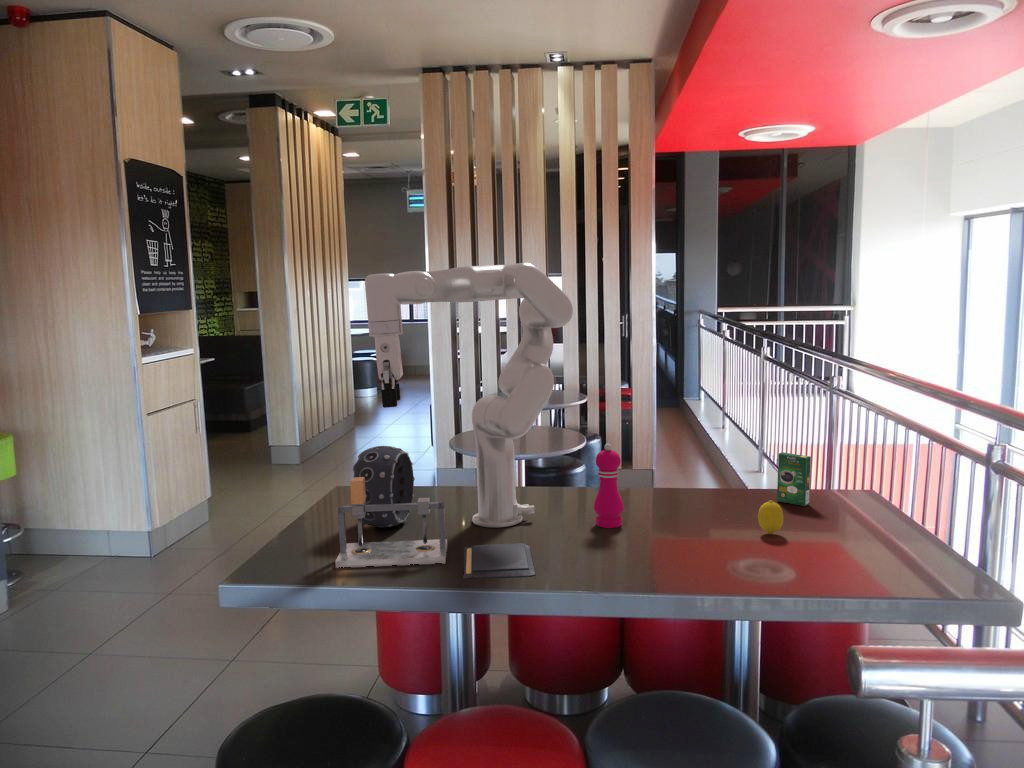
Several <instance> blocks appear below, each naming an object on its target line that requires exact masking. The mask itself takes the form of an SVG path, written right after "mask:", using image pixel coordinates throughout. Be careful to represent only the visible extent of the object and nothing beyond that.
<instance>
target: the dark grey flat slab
mask: <svg viewBox="0 0 1024 768" xmlns="http://www.w3.org/2000/svg"><path fill="white" fill-rule="evenodd" d="M464 548H465V549H464ZM464 548H463V567H464V575H463V574H462V575H463V576H462V579H463V580H469V579H468V578H472V579H471V580H479V578H482V580H483V579H509V578H510V579H511V578H530V577H531V578H532V577H536V568H535V566H534V561H533V557H532V551H531V550H532V549H531V547H530V545H528V544H525V543H524V542H521V543H520V542H518V543H497V544H496V543H495V544H493V543H492V544H477V545H476V544H475V545H474V544H473V545H471V546H469V547H468V546H467V547H466V546H465V547H464Z"/></svg>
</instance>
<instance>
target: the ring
mask: <svg viewBox="0 0 1024 768" xmlns="http://www.w3.org/2000/svg"><path fill="white" fill-rule="evenodd" d="M413 464H414V462H413V461H412V460H411V458H410V456H409V452H407V451H405V450H403V449H402V448H400V447H395V446H390V445H379V446H378V445H377V446H373V447H372V446H371V447H370V448H367V449H365V450H363V451H362V452H360V453H359V454H358V455H357V461H356V462H355V463H354V465H353V466H352V472H353V476H352V478H354V477H365V492H366V500H365V504H366V505H376V504H401V503H413V501H414V500H413V499H414V497H415V494H414V489H415V479H416V478H415V476H414V468H413ZM350 504H351V503H350ZM351 505H352V504H351ZM351 505H350V506H351ZM411 512H412V510H397V511H372V512H366V515H365V517H364V518H362V524H364V525H366V526H368V527H369V526H370V527H374V528H384V529H385V528H391V527H396V526H399V525H400V524H402V523H405V522H406V521H407V518H408V516H409V514H410V513H411Z"/></svg>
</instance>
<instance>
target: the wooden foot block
mask: <svg viewBox="0 0 1024 768" xmlns="http://www.w3.org/2000/svg"><path fill="white" fill-rule="evenodd" d="M349 483H350V484H349V487H350V504H352V512H351V513H352V519H356V521H357V537H358V539H357V540H358V543H359V546H360V547H361V546H363V543H364V539H363V523H362V518H364V517H365V515H366V512H364V505H366V504H365V500H366V492H365V477H354V478H353V477H352V478H351V479H350V481H349Z"/></svg>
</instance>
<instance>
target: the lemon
mask: <svg viewBox="0 0 1024 768" xmlns="http://www.w3.org/2000/svg"><path fill="white" fill-rule="evenodd" d="M757 520H758V524H759V527H760V528H761V529H762V530H763V531H764V532H767V534H768V535H773V534H774V533H776V532H778V531H780V530H781V528H782V527H783V525H784V520H785V519H784V512H783V509H782V507H781V506H780V504H778V503H777V502H775V501H773V500H772V499H771V500H770V499H769V500H768V501H766V502H764V503H763V504H762V505H760V507H759V509H758V513H757Z"/></svg>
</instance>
